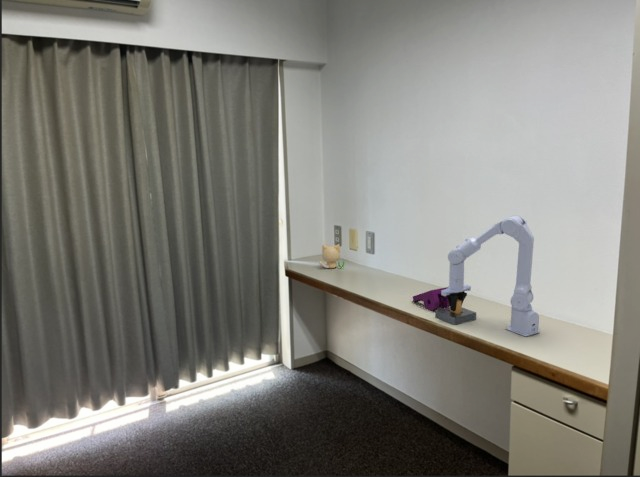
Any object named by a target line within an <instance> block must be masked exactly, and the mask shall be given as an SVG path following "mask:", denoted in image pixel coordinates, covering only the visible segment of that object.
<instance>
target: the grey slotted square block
mask: <svg viewBox="0 0 640 477" xmlns="http://www.w3.org/2000/svg"><path fill="white" fill-rule="evenodd" d="M434 312H435V313H434V314H435V315H434V317H435V318H436V319H438V320H441V321H444V322H446V323H448V324H450V325H453V326H457V325H460V324H463V323H468V322H471V321H476V320H477V312H476V311H472V310H471V309H467V308H464V307H463V306H462V307H461V313H460V314H455V313H453V312H450V307H447V308H440V309H439V308H438V309H437V310H434Z"/></svg>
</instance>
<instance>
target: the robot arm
mask: <svg viewBox="0 0 640 477" xmlns="http://www.w3.org/2000/svg"><path fill="white" fill-rule="evenodd" d="M504 234H505V235H507V236H510V237H512V239H514V240H515V241H516V242H517V243H518V252H517V265H516V279H515V286H514V290H513V293H512V294H513V295H512V296H511V298H510V305H511V307H510V308H511V310H510V312H511V313H510V325H509V326H507V327H505V330H506V331H507V330H508V331H510V332H513V333H515V334H518V335H520V336H523V337H529V336H532V335H537V334H539V333H540V331H539V323H540V322H539V321H540V315H539V314H538V312H536V311H534V310H533V306H532V304H531V303H532V302H533V301H534V293H533V291H532V289H533V288H532V284H531V282H532V281H531V278H532V268H533V267H532V266H533V254H534V244H535V243H534V242H535V236H534V235H533V233H532V232H531V229H530V228H529V225H528V223H527V221H526V220H525V219H524V218H523V217H522V216H520V215H516V214H514V215H511V216H509V217H507V218H505V219H503V220H501V221H499V222H497V223H494V224H493V225H492V226H490V227H489V228H488V229H486V230H485V231H484V232H482V233H481V234H480V235H478V236H477V237H467V238H466V239H465V240H464V242H463V243H462V244H460V245H457V246H456V248H455V249H452V250H450V252H449V253H448V254H447V260H448V261H449V274H448V277H449V278H448V286H447V287H448V288H447V289H445V290H442V291H441V295H443V296H446V297H447V299H448V301H449V305H450V309H451V310H452V311H455V310H456V303H457V299H458V300H461V301H462V304H461V307H462V308H463V304H464V301H465V299H466V297H467V296H468V291H469V292H470V291H471V289H472V286H471V285H468V284H467V285H466V284H465V282H464V280H465V275H464V274H465V261H466V259H468V258H470V257H471V256H472V255H474V254H475V253H477V252H478V251H479V250H481V247H482V245H483V244H484V243H486V242H487V241H488V240H490V239H492V238H493V237H495V236H497V235H504Z"/></svg>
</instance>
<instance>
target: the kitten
mask: <svg viewBox="0 0 640 477" xmlns="http://www.w3.org/2000/svg"><path fill="white" fill-rule="evenodd" d="M340 246H341V245H340V244H339V243H338V244H336V245H334V246H333V245H330V246H329V245H326V244H322V245H321V247H322V249H321V250H322V251H321V253H322V254H321V255H322V260H323V261H325V262H326V264H324V263H323V261H321V260H320V261H319V264H318V265H320V266H321V267H323V268H326V269H335V267H336V268H337V265H338V267H339V268H340V267H341V268H342V267H343V268H344V266H345V260H342V262H343V263H342V264H340V262H339V261H340V259H341V247H340ZM337 263H338V264H337ZM341 268H340V269H341ZM343 268H342V269H343Z"/></svg>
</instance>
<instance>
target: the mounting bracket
mask: <svg viewBox="0 0 640 477" xmlns="http://www.w3.org/2000/svg"><path fill="white" fill-rule="evenodd" d="M447 288H448V286H447V287H442V288H435V289H431V290H427V291H424V292H422V293H420V294H416V295H413V296H412V300H413V302H418V301H421V300H422V302H423V305H424V307H425V309H426V310H428V311H431V312H432V311H435V310H439V308H441V309H443V308H448V307H450V305H449V301H448V299H447V297H446V296H443V295H441V291H442V290H445V289H447Z"/></svg>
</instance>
